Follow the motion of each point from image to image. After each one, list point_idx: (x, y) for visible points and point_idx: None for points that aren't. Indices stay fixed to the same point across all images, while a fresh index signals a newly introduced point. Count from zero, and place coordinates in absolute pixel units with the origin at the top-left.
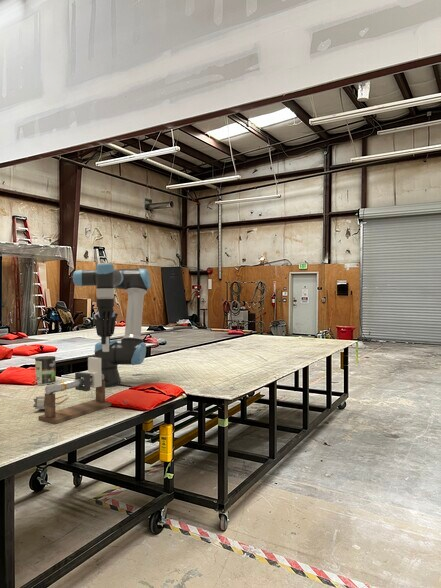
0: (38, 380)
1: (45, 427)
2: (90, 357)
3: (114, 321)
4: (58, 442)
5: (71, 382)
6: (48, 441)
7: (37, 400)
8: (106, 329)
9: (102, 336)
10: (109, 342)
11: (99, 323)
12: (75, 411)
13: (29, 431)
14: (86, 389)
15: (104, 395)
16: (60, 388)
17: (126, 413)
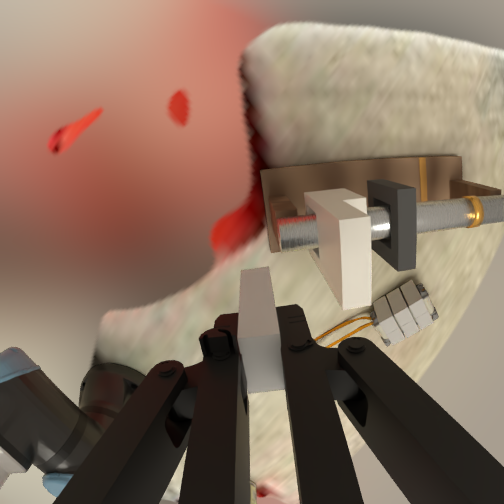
0: (255, 492)
1: (475, 155)
2: (359, 299)
3: (84, 499)
4: (491, 54)
5: (451, 206)
6: (499, 76)
7: (433, 307)
8: (245, 435)
9: (326, 351)
10: (222, 319)
11: (468, 446)
12: (396, 176)
13: (498, 163)
14: (386, 180)
15: (273, 200)
16: (482, 196)
17: (286, 56)
